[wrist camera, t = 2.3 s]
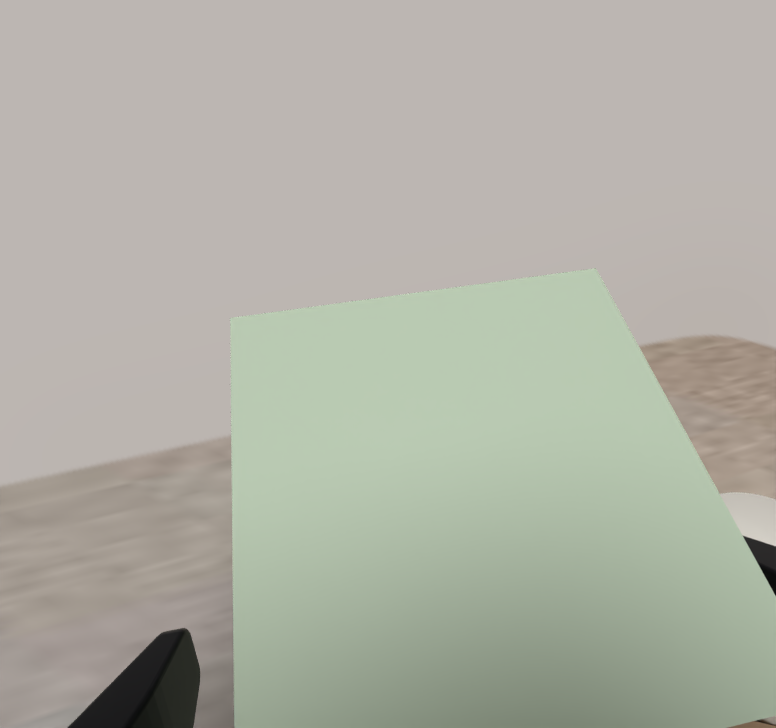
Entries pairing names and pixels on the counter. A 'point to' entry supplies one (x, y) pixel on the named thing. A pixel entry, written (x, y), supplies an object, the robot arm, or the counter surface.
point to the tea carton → (480, 523)
